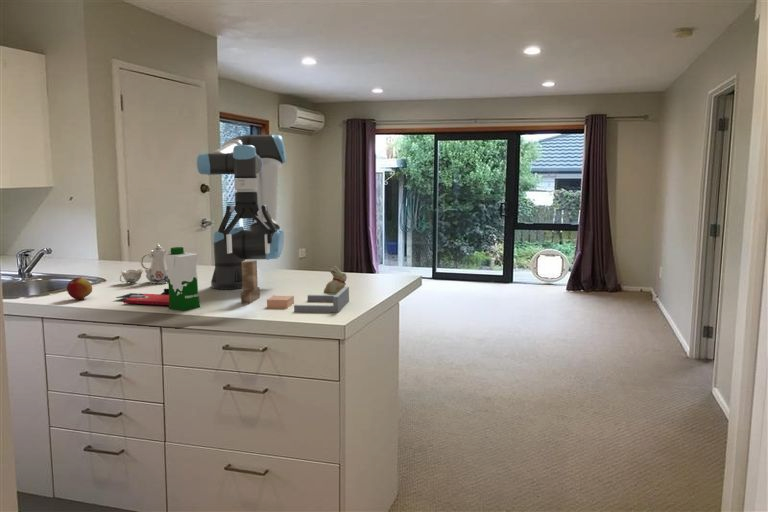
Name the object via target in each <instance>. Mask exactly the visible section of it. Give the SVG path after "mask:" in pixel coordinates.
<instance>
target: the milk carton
mask: <svg viewBox="0 0 768 512" xmlns="http://www.w3.org/2000/svg"><path fill="white" fill-rule="evenodd" d="M170 249H171V254H169V253H168V254H166V255H165V260H166V264H167V269H168V283H167V284H168V286H167V287H168V289H169V305H168V309H170V310H174V311H180V312H182V311H183V312H185V311H189V310H190V311H191V310H192V309H197V308H201V304H200V296H199V286H198V284H199V283H198V260H199V254H198V253H194V252H185V251H184V247H182V246H175V247H170Z"/></svg>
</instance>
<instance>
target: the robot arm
mask: <svg viewBox="0 0 768 512" xmlns="http://www.w3.org/2000/svg"><path fill="white" fill-rule="evenodd" d="M286 162H287V154H286V148H285V143H284V138H283V137H282V136H281V135H280V134H272V133H271V134H245V135H244V134H243V135H240V136H239V135H238V136H235V137H232V138H231V139H228V140H226V141H225V142H224V143H223V144H222V146H221V147H220V148H218V149H216V150H214V151H213V152H210V153H209V152H204V153H199V154H198V155H197V157H196V168H197V172H198V173H199V174H200V175H203V176H211V175H212V176H213V175H233V177H234V178H233V181H234V191H235V192H234V203H235V205H226V207H225V214H224V216H223V218H222V220H221V223H220V225H219V228H218V229H217V230H216V231H214V233H213V242H212V243H213V255H214V256H213V257H214V269H213V274H212V277H211V281H210V287H211V288H212V289H213V290H214V289H215V290H237V289H243V286H242V263H241V262H243V261H245V260H257V261H258V260H267V261H268V260H278V259H279V258H280V257H281V255H282V252H283V248H284V238H285V237H284V236H285V235H284V231H283V230H282V229H281V226H280V225H279V223H278V222H277V213H278V212H277V209H278V208H277V207H278V187H279V184H278V181H279V180H278V179H279V178H278V177H279V170H281V169H282V167H283V164H285V163H286ZM234 211H235V212H236V214H235V215H234V217H233V219H232V220H231V222H230V223H229V221H230V218H231V217H232V214H233V212H234ZM241 219H242V220H243V219H244V220H245V219H248V220H250V219H253V220H254V221H253V222H252V223H251V224H250V226H249V227H250V228H249V229H246V230H245V228H244V226H236V225H237V224H238V222H239V221H240V220H241Z"/></svg>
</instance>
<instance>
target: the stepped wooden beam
mask: <svg viewBox="0 0 768 512" xmlns="http://www.w3.org/2000/svg"><path fill="white" fill-rule="evenodd" d="M257 261H258V260H245V261H243V262H241V263H242V286H243V288H242V291H240V301H241V302H240V304H241V305H242V304H243V305H250V304H252V303H253V302H256V301H257V300H260V298H261V297H260V286H258V285H259V284H258V283H259V282H258V281H259V280H258V264H257V263H258V262H257Z"/></svg>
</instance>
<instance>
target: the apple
mask: <svg viewBox="0 0 768 512" xmlns="http://www.w3.org/2000/svg"><path fill="white" fill-rule="evenodd" d="M66 291H67V294H68V295H69V296H70V297H71V298H72V299H75V300H77V299H78V300H77V301H79V300H80V299H81V300H83V299H84V298H86V297H88V296H90V294H91V293H92V292H93V286H92V284H91V282H90V281H89V280H88V279H86V278H85V277H82V276H81V277H76V278H73V279H72V280H71V279H70V281H69V282H68V283H67V285H66Z"/></svg>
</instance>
